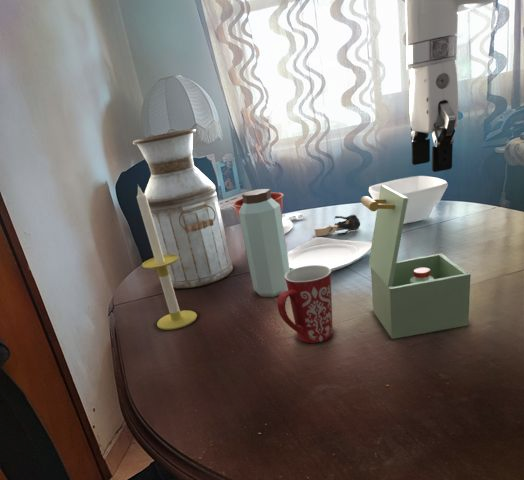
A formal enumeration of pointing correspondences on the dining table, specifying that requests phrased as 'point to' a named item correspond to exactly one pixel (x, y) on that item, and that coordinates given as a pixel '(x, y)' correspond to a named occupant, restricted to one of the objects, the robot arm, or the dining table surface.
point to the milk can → (185, 211)
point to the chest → (422, 297)
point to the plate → (327, 253)
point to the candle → (163, 272)
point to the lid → (386, 231)
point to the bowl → (415, 194)
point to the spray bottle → (289, 221)
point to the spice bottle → (421, 275)
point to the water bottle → (264, 242)
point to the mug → (308, 302)
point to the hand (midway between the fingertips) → (430, 166)
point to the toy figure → (339, 226)
